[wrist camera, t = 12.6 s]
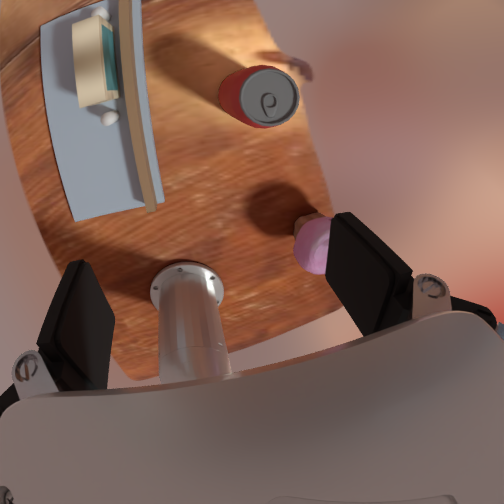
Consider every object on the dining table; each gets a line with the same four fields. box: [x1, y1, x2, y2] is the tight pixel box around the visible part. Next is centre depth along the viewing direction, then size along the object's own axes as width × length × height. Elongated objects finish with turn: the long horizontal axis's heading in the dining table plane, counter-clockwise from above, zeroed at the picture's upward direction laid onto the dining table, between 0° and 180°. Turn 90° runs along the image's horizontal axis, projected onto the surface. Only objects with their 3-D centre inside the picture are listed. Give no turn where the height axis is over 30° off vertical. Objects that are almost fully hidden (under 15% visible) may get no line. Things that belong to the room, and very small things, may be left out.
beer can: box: [218, 65, 300, 128], centre depth 26 cm, size 7×7×12 cm
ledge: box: [41, 0, 165, 222], centre depth 25 cm, size 30×14×4 cm, turn 3°
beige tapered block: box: [72, 15, 121, 108], centre depth 21 cm, size 10×3×7 cm, turn 4°
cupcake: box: [293, 213, 332, 274], centre depth 40 cm, size 9×9×10 cm
